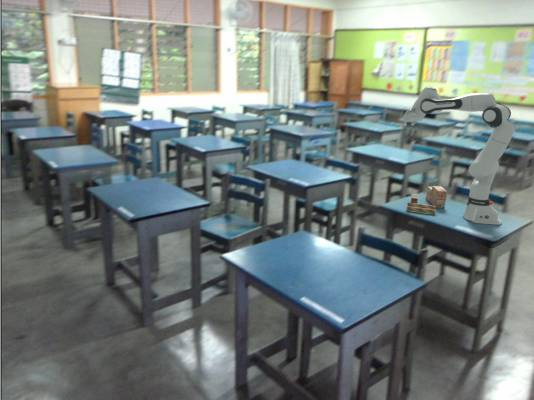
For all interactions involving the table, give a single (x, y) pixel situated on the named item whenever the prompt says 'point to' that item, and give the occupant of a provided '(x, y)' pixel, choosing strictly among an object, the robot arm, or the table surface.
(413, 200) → the walnut block
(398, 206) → the table surface
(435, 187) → the stack of blocks
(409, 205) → the tan shallow tray
